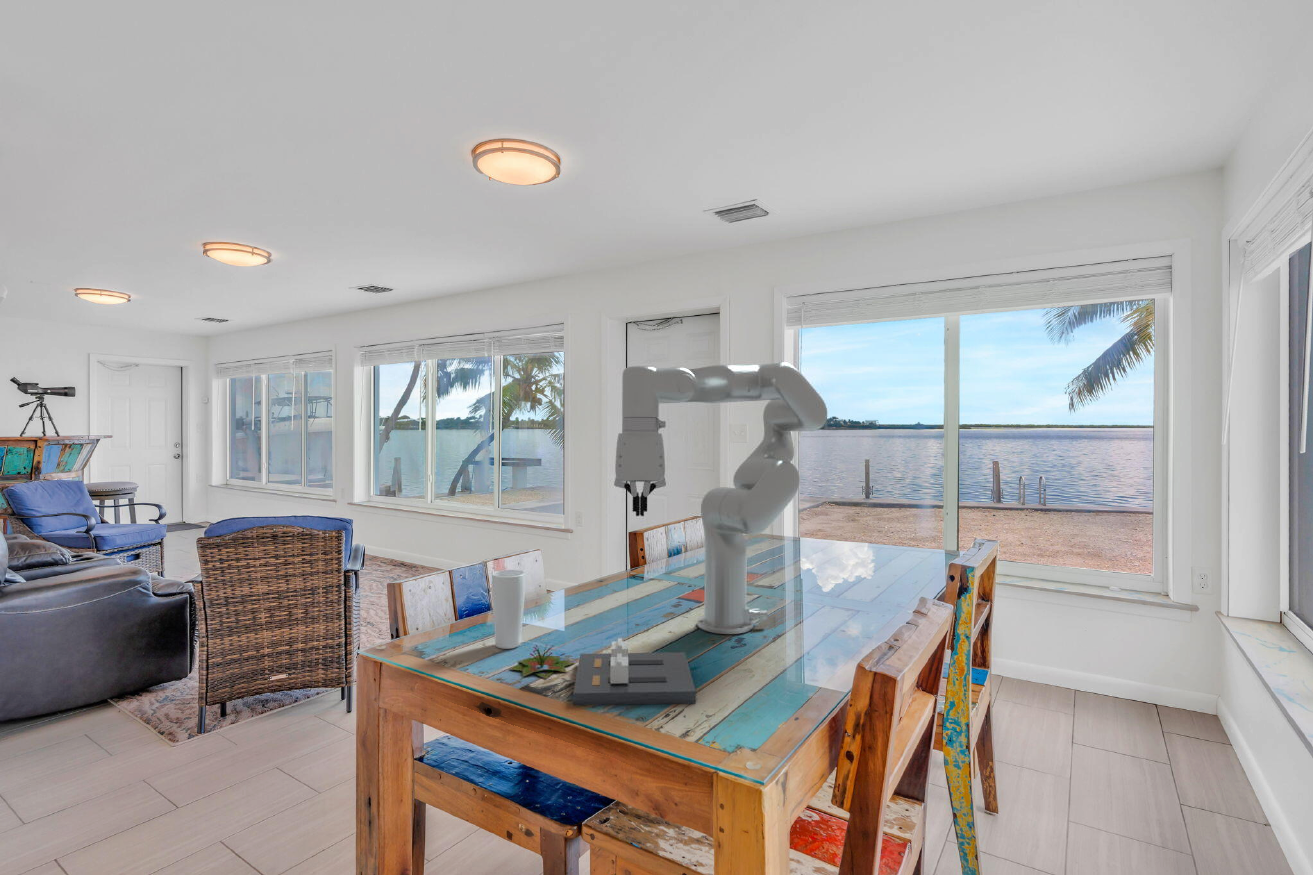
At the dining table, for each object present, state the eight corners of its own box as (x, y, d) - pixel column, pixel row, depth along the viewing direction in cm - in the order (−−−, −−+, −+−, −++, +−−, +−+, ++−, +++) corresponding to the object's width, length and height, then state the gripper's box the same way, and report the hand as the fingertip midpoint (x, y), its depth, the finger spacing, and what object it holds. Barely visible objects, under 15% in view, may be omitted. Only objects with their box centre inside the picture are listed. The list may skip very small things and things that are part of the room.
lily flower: (537, 654, 128) (537, 631, 128) (586, 665, 122) (586, 641, 122) (495, 674, 117) (495, 649, 117) (547, 687, 112) (547, 661, 111)
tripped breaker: (627, 673, 111) (628, 653, 111) (628, 683, 107) (628, 661, 107) (610, 674, 111) (610, 653, 110) (610, 683, 107) (610, 662, 106)
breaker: (627, 657, 119) (627, 638, 119) (627, 665, 115) (628, 645, 115) (611, 657, 118) (611, 638, 118) (611, 665, 115) (611, 645, 114)
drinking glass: (531, 642, 133) (531, 571, 133) (511, 653, 127) (511, 578, 127) (505, 638, 136) (505, 568, 136) (484, 648, 130) (484, 574, 129)
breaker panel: (684, 662, 122) (684, 651, 122) (695, 703, 104) (695, 690, 104) (580, 664, 121) (580, 653, 121) (573, 705, 103) (573, 692, 103)
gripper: (674, 426, 135) (674, 512, 136) (604, 426, 134) (604, 512, 135) (678, 426, 128) (677, 517, 128) (603, 426, 127) (603, 518, 127)
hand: (639, 515), depth 131 cm, fingers closed
